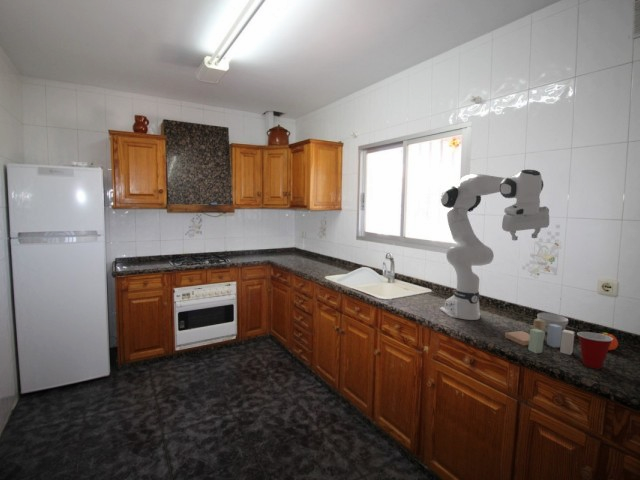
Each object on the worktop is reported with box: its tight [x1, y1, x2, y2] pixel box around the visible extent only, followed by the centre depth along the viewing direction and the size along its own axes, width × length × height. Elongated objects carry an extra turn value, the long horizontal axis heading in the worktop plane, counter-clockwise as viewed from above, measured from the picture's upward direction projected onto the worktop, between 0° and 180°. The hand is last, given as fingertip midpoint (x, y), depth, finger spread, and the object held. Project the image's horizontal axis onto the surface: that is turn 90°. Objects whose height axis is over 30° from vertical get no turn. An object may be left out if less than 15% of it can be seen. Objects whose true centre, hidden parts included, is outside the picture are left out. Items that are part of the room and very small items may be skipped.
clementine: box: [598, 332, 619, 351], centre depth 147 cm, size 8×7×7 cm
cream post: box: [559, 328, 575, 356], centre depth 142 cm, size 4×4×9 cm
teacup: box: [537, 312, 569, 334], centre depth 166 cm, size 15×12×8 cm
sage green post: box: [527, 328, 545, 354], centre depth 142 cm, size 4×4×9 cm
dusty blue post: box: [546, 324, 562, 348], centre depth 149 cm, size 4×4×9 cm
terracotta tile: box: [504, 330, 530, 346], centre depth 155 cm, size 10×10×2 cm
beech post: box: [532, 318, 546, 338], centre depth 156 cm, size 4×4×9 cm
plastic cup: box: [576, 331, 613, 370], centre depth 131 cm, size 11×11×12 cm
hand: (524, 239), depth 152 cm, fingers open, 8 cm apart
